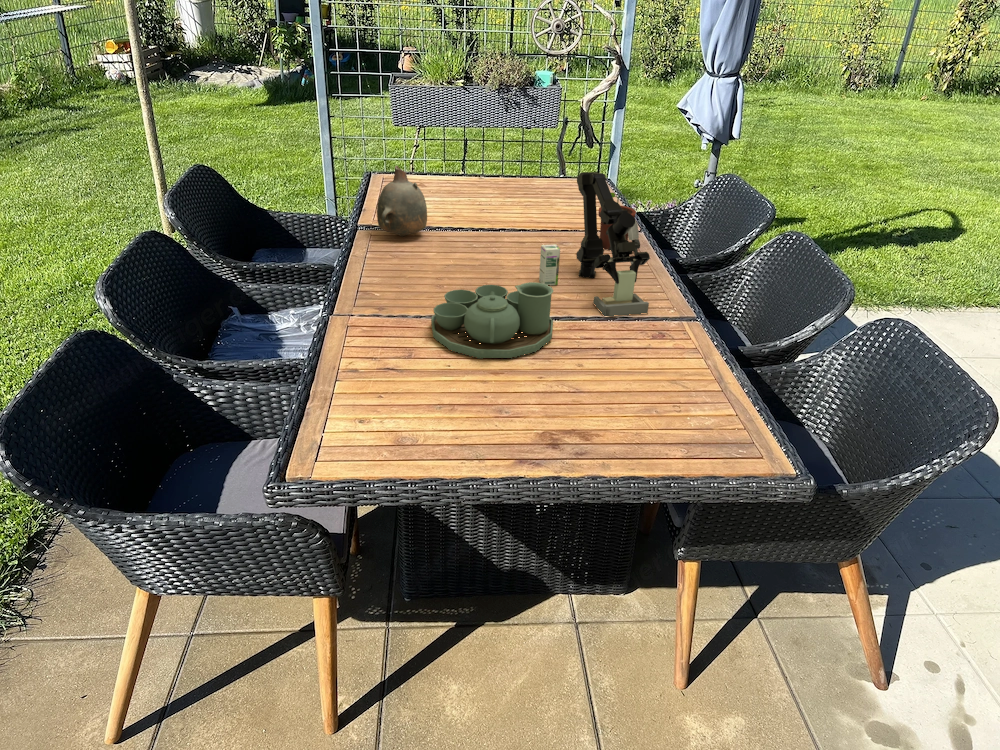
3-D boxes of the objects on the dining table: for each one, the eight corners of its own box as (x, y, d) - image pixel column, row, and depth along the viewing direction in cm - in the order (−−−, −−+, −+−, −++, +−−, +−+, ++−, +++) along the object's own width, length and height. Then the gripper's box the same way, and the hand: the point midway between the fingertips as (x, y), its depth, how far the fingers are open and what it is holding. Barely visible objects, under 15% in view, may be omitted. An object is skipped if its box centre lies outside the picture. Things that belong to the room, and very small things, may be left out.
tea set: (522, 300, 250) (524, 256, 242) (573, 350, 219) (578, 302, 210) (415, 314, 237) (414, 269, 229) (453, 370, 205) (453, 319, 197)
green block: (612, 297, 244) (616, 271, 239) (628, 296, 245) (632, 269, 240) (616, 301, 241) (619, 274, 236) (632, 300, 243) (636, 273, 238)
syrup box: (543, 286, 261) (546, 249, 254) (538, 280, 266) (541, 244, 259) (557, 285, 263) (560, 248, 256) (552, 279, 268) (555, 243, 260)
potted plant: (633, 241, 309) (640, 185, 297) (638, 258, 291) (646, 199, 278) (593, 239, 310) (599, 183, 297) (595, 256, 291) (602, 197, 279)
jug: (424, 246, 294) (422, 175, 279) (373, 244, 294) (369, 172, 279) (430, 228, 315) (429, 160, 300) (383, 226, 315) (379, 158, 300)
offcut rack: (592, 303, 249) (593, 293, 247) (633, 300, 253) (635, 290, 251) (604, 317, 240) (606, 306, 238) (647, 313, 244) (648, 303, 242)
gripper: (600, 232, 233) (609, 275, 229) (651, 229, 237) (661, 271, 233) (589, 246, 243) (598, 288, 240) (638, 243, 248) (647, 284, 244)
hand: (626, 282), depth 239 cm, fingers closed on green block, 6 cm apart
